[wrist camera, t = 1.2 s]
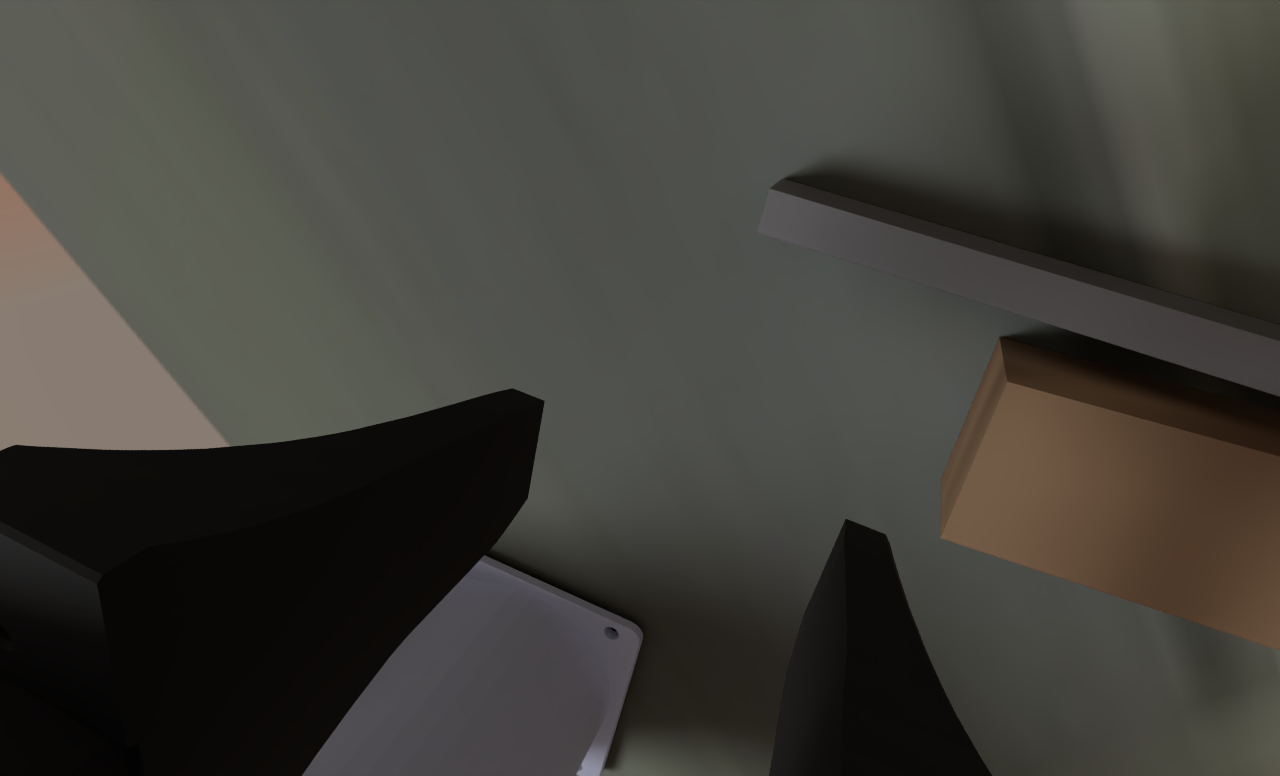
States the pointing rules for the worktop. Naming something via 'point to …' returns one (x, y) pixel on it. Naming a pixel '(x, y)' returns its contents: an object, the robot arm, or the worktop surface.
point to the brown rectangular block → (1123, 487)
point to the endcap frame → (1029, 284)
